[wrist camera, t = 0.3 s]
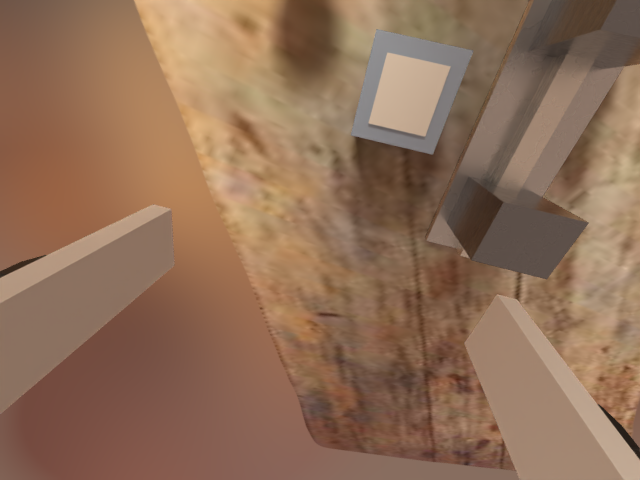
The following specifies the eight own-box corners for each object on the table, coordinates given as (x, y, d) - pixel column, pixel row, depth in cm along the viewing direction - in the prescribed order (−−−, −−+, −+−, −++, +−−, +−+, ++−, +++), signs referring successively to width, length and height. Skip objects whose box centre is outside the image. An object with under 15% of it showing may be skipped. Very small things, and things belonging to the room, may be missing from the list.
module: (373, 49, 28) (376, 28, 20) (442, 64, 28) (474, 49, 20) (354, 126, 32) (350, 135, 23) (415, 140, 31) (433, 155, 23)
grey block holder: (565, -82, 22) (697, -202, 13) (691, -57, 22) (912, -164, 13) (424, 237, 36) (443, 281, 28) (499, 256, 36) (542, 306, 27)
